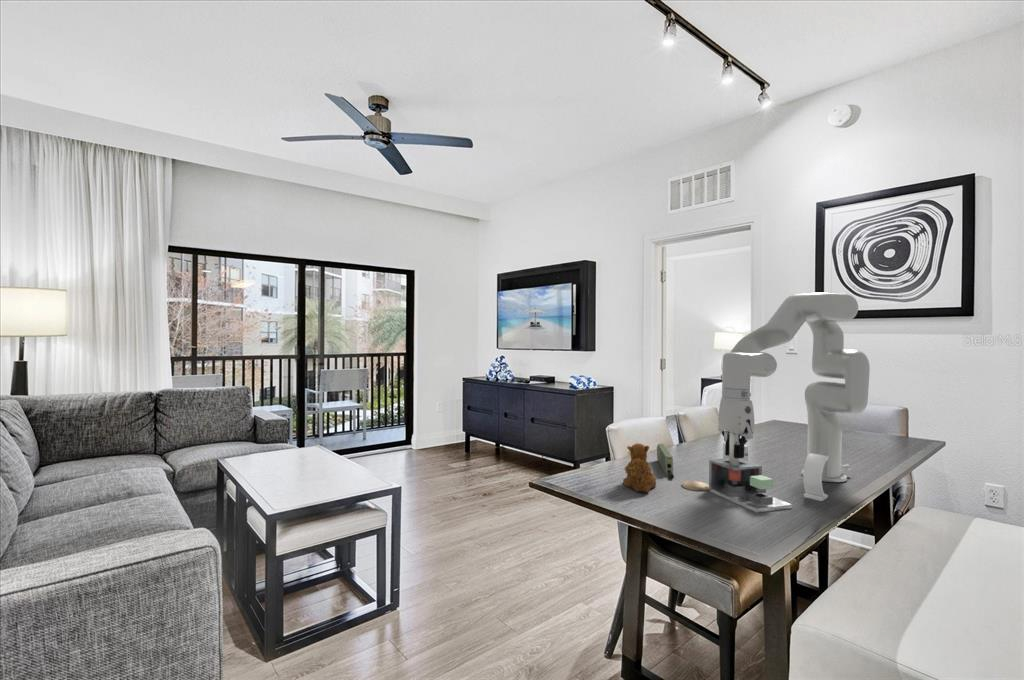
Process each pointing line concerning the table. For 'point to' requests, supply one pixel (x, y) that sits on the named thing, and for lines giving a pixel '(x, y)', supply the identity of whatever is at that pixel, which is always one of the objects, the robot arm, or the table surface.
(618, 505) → the table surface
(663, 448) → the handheld radio
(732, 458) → the white rounded rod
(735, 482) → the plunger
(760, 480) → the on button
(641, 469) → the brown rounded furry figure
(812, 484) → the headphone stand
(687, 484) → the cork coaster
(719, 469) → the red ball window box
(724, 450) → the skincare box
